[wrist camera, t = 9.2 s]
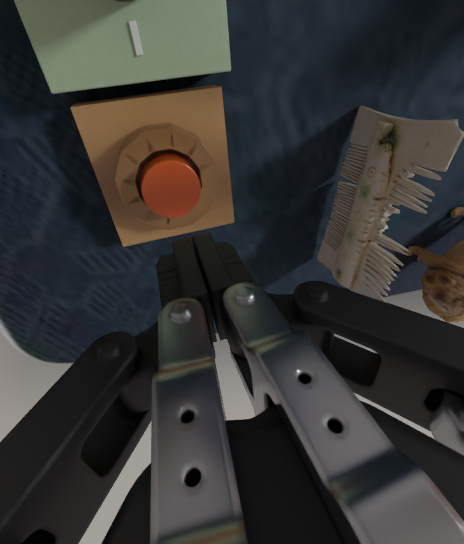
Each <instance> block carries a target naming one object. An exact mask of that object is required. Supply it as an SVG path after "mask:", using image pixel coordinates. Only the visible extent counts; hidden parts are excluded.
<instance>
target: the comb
mask: <svg viewBox="0 0 464 544" xmlns="http://www.w3.org/2000/svg"><path fill="white" fill-rule="evenodd" d="M463 137H464V132H463V131H461V130H460V129H459V127H458V119H454V120H413V119H407V118H400V117H395V116H391V115H387V114H384V113H381V112H378V111H375V110H372V109H370V108H367V107H364V106H360V107H359V110H358V113H357V117H356V121H355V125H354V128H353V131H352V134H351V138H350V142H351V143H353V144H358V145H362V146H357V145H350V146H351V147H355V148H358V149H355V148H348V150H352V151H346V153H349V154H346V156H348V157H344V158H345V159H346V160H344V161H346V162H348V163H345V162H343V164H344V165H346V166H342V167H343V168H345V169H343V168H341V170H343V171H345V172H343V171H341V172H340V174H341V175H342V176H344V177H345V178H347V179H349V180H351V181H353V182H355V183H357V186H356V185H354V184H350V183H347V182H342V181H338V182H339V183H338V185H340V186H342V187H340V186H337V187H338V188H340V189H342V190H339V189H336V190H337V191H338V192H336V193H337V194H339V195H335V196H336V197H334V198H335V199H337V200H335V199H334V201H335V202H337V203H334V204H335V205H336V206H334V205H333V207H334V208H333V210H334V211H331V212H333V213H331V217H330V218H331V219H332V220H333V221H332V220H330V219H329V221H330V222H328V223H329V224H330V225H331V226H330V225H328V226H329V227H326V228H327V229H326V230H327V231H328V232H327V231H325V232H326V233H327V234H326V233H325V235H324V236H325V237H324V238H325V239H326V240H327V241H326V240H324V239H323V241H322V244H321V248H320V251H319V254H318V257H317V259H318V260H319V261H320V262H321V263H322V264H324V265H325V266H326V267H328V268H329V269H330V270H331V271H332V274H333V277H334V278H335V279H336V281H337V282H338V283H340V284H341V285H342V286H344V287H347V288H348V289H350V290H351V291H353V292H356V293H359V294H362V295H365V296H368V297H371V298H374V299H377V300H380V301H383V302H386V301H385V300H384V298H383V297H382V295H381V294H380V293H382V294H384V295H386V296H387V293H386V292H385V291H384V290H383V288H385V289H387V290H388V291H390V288H389V287H388V286H387V285H386V283H387V284H389V285H390V283H391V282H390V280H391V281H395V280H394V279H393V278H392V277H391V275H392V276H395V277H397V275H396V274H395V273H394V272H393V271H392V270H391V269H390V268H392V269H394V270H396V271H398V272H399V271H401V270H400V269H399V268H398V267H397V266H396V265H395V264H394V263H393V262H392V261H394V262H395V263H397V264H399V265H401V266H403V264H402V263H401V262H400V261H399V260H398V259H397V258H396V257H395V256H394V255H393V254H391V253H389V252H388V251H386V250H385V249H383V248H381V247H380V246H378V245H377V244H378V243H379V244H381V245H383V246H385V247H387V248H389V249H392V250H395V251H397V252H400V253H402V254H404V255H407V256H408V254H407V253H405V252H404V251H407V252H409V250H407V249H406V248H405V247H403V246H402V245H400V244H399V243H397V242H396V241H394V240H392V239H390V238H388V237H387V236H385V235H383V234H381V233H382V232H384V230H383V229H388V226H387V225H386V223H385V222H386V221H388V220H390V219H389V218H388V216H390V215H391V214H392V213H399V214H400V211H399V209H396V208H394V207H392V205H391V204H393V205H397V206H400V204H401V205H404V206H406V207H409V208H411V209H414V210H416V211H418V212H421V213H425V214H427V212H426V211H425V210H424V209H422V208H420V207H419V206H417V205H415V204H413V203H416V204H419V205H421V206H424V207H428V206H426V205H425V204H424V203H422V202H421V201H419V200H418V199H416V198H415V197H418V198H421V199H423V200H426V201H429V202H432V200H431V199H429V198H428V197H427V196H425V195H423V194H421V193H420V192H418V191H421V192H423V193H425V194H428V195H431V196H434V195H435V194H434V193H433V192H432V191H430V190H429V189H427V188H425V187H424V186H422V185H420V184H418V183H416V182H414V181H411V180H409V179H407V178H411V177H413V176H414V175H415V174H413V173H411V172H410V171H412V172H414V173H417V174H419V175H422V176H425V177H428V178H432V179H436V180H441V179H442V178H441V177H440V176H439V175H438V174H435V173H433V172H431V171H429V170H426V169H424V168H421V167H418V166H417V165H420V166H423V167H425V168H429V169H433V170H437V171H444V172H446V170H447V168H448V166H449V164H450V162H451V160H452V158H453V156H454V154H455V152H456V150H457V148H458V146H459V145H460V143H461V141H462V139H463ZM364 146H367V147H364ZM361 149H362V150H361ZM365 150H366V151H365ZM354 151H356V152H354ZM358 152H360V153H358ZM362 153H364V154H362ZM351 154H355V155H351ZM366 154H367V155H366ZM351 157H352V158H351ZM347 159H348V160H347ZM349 163H350V164H349ZM416 164H417V165H416ZM347 166H348V167H347ZM350 167H351V168H350ZM405 177H406V178H405ZM404 184H405V185H404ZM406 185H407V186H406ZM408 186H409V187H408ZM410 187H411V188H410ZM412 188H413V189H412ZM414 189H416V190H418V191H416V190H414ZM401 190H402V191H401ZM403 191H404V192H406V193H408V194H411V195H413V196H415V197H413V196H411V195H408V194H406V193H404V192H403ZM340 192H341V193H340ZM398 196H399V197H398ZM338 197H339V198H338ZM400 197H402V198H400ZM403 198H404V199H403ZM405 199H406V200H405ZM407 200H408V201H407ZM409 201H411V202H413V203H411V202H409ZM335 211H336V212H335ZM391 212H392V213H391ZM400 249H402V250H404V251H402V250H400ZM389 259H390V260H389ZM391 260H392V261H391ZM389 267H390V268H389ZM387 272H388V273H387ZM390 274H391V275H390ZM389 279H390V280H389ZM382 287H383V288H382ZM378 291H379V292H378Z"/></svg>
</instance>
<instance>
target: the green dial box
mask: <svg viewBox="0 0 464 544" xmlns="http://www.w3.org/2000/svg"><path fill="white" fill-rule="evenodd" d="M14 2H15V4H16V7H17V9H18V12H19V14H20V17H21V19H22V22H23V24H24V27H25V29H26V31H27V34H28V36H29V39H30V41H31V44H32V46H33V49H34V51H35V54H36V56H37V59H38V61H39V64H40V66H41V69H42V71H43V74H44V76H45V79H46V81H47V84H48V86H49V88H50V91H51V93H52V94H57V93H65V92H72V91H80V90H88V89H96V88H104V87H111V86H119V85H127V84H135V83H143V82H150V81H158V80H166V79H174V78H182V77H189V76H197V75H205V74H213V73H221V72H228V71H231V61H230V48H229V35H228V22H227V9H226V0H135V1H130V2H120V1H115V0H14Z"/></svg>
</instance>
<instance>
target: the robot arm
mask: <svg viewBox="0 0 464 544" xmlns="http://www.w3.org/2000/svg"><path fill="white" fill-rule="evenodd" d="M192 241H193V246H194V251H195V254H194V251H193V248H192V245H191V242H190V239H189V237H187V238H182V239H178V240H173V241H171V243H172V248H173V252H174V253H172V254H168V255H163V256H160V258H159V260H158V262H157V264H156V267H157V274H158V281H159V290H160V298H161V306H162V309H161V311H160V312H159V315H158V321H157V322H156V323H155V324H154V325H153V326H152V327H150V328H149V329H148V330H146V331H144V332H142V333H140V334H139V335H137V336H135V337H133V336H132V335H131V334H129V333H127V332H112V333H109V334H106V335H104V336H102V337H100V338H99V339H97V340H96V341H94V342H93V343H92V344H91V345H90V346H89V347H88V348H87V350H86V351H85V352H84V353H83V354H82V355H81V356H80V357H79V358H78V359H77V360H76V361H75V362H74V364H73V365H72V366H71V367H70V368H69V369H68V370H67V371H66V372H65V373H64V375H62V376H61V378H60V379H59V380H58V381H57V382H56V383H55V384H54V385H53V386H52V387H51V388H50V389H49V390H48V392H47V393H46V394H45V395H44V396H43V397H42V398H41V399H40V400H39V401H38V402H37V403H36V405H34V407H33V408H32V409H31V410H30V411H29V412H28V413H27V414H26V415H25V417H23V418H22V419H21V421H20V422H19V423H18V424H17V425H16V426H15V427H14V428H13V429H12V430H11V431H10V432H9V434H8V435H7V436H6V437H5V438H4V439H3V440H2V441H1V442H0V544H78V543H79V542H80V540H81V538H82V537H83V535H84V533H85V532H86V530H87V528H88V526H89V525H90V523H91V522H92V520H93V518H94V516H95V515H96V513H97V511H98V510H99V508H100V506H101V505H102V503H103V501H104V499H105V498H106V496H107V495H108V493H109V491H110V489H111V488H112V486H113V484H114V483H115V481H116V479H117V477H118V476H119V474H120V472H121V471H122V469H123V467H124V465H125V464H126V462H127V460H128V459H129V457H130V455H131V454H132V452H133V451H134V449H135V447H136V445H137V444H138V442H139V441H140V439H141V437H142V435H143V434H144V432H145V430H146V429H147V427H148V425H149V424H150V422H151V420H152V438H151V440H152V441H151V463H150V464H149V465H148V467H147V468H146V469H145V470H144V471H143V472H142V473H141V475H140V476H139V477H138V478H137V480H136V481H135V483H134V485H133V486H132V488H131V489H130V491H129V493H128V494H127V496H126V498H125V500H124V502H123V504H122V506H121V508H120V509H119V511H118V513H117V515H116V517H115V519H114V521H113V523H112V525H111V527H110V529H109V530H108V532H107V534H106V536H105V538H104V540H103V542H102V544H464V328H462V327H458V326H456V325H453V324H450V323H447V322H443V321H440V320H437V319H434V318H431V317H428V316H425V315H422V314H419V313H416V312H413V311H410V310H407V309H404V308H401V307H398V306H395V305H392V304H389V303H386V302H383V301H380V300H377V299H374V298H371V297H368V296H365V295H362V294H359V293H356V292H353V291H350V290H347V289H344V288H341V287H338V286H335V285H332V284H329V283H326V282H322V281H307V282H304V283H302V284H300V285H298V286H297V287H296V289H295V290H294V294H290V295H275V294H269V293H267V292H266V291H265V290H264V289H263V288H262V287H261V286H259V285H257V284H254V282H253V280H252V279H251V277H250V275H249V273H248V272H247V270H246V268H245V266H244V264H243V263H242V262H241V259H240V257H239V255H238V254H237V252H236V250H235V248H234V247H233V246H232V245H230V244H228V243H227V242H225V241H224V242H220V243H216V244H215V243H214V240H213V238H212V236H211V234H210V232H209V233H204V234H200V235H195V236H192ZM212 316H213V319H214V322H215V325H216V328H217V331H218V334H219V337H220V340H223V339H227V340H228V343H229V345H230V350H231V357H232V359H233V362H234V364H235V366H236V368H237V371H238V373H239V375H240V378H241V380H242V382H243V384H244V387H245V389H246V391H247V394H248V396H249V398H250V400H251V403H252V406H253V408H254V412H255V417H253V418H251V419H244V420H228V421H226V416H225V411H224V406H223V400H222V395H221V391H220V385H219V380H218V375H217V370H216V364H215V350H214V346H213V342H216V341H217V340H216V334H215V329H214V324H213V319H212ZM334 334H337V335H339V336H342V337H344V338H347V339H349V340H351V341H354V342H356V343H359V344H361V345H363V346H366V347H368V348H371V349H373V350H374V351H376V352H377V353H378V354H377V353H373V352H371V351H368V350H366V349H364V348H361V347H359V346H356V345H354V344H351V343H349V342H347V341H345V340H342V339H340V338H337V337H335V336H334ZM353 392H354V393H356V394H358V395H360V396H362V397H364V398H366V399H368V400H370V401H372V402H374V403H376V404H378V405H380V406H382V407H384V408H386V409H388V410H390V411H392V412H394V413H396V414H398V415H400V416H402V417H404V418H406V419H408V420H410V421H412V422H414V423H416V424H417V425H420V426H421V427H423V428H425V429H428V430H429V431H431V432H432V434H433V436H434V438H435V439H433V438H431V437H429V436H427V435H425V434H423V433H422V432H420V431H418V430H416V429H414V428H412V427H411V426H409V425H407V424H405V423H403V422H401V421H399V420H398V419H396V418H394V417H392V416H390V415H388V414H387V413H385V412H383V411H381V410H379V409H377V408H375V407H374V406H371V405H369V404H367V403H365V402H362V401H360V400H359V399H358V398H357V397H356V395H355V394H354V393H353Z"/></svg>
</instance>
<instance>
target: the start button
mask: <svg viewBox="0 0 464 544" xmlns="http://www.w3.org/2000/svg"><path fill="white" fill-rule="evenodd" d="M141 191H142V196H143V199H144V201H145V203H146V205H147V206H148V207H149V208H150V209H151V210H152V211H153V212H155V213H156V214H158V215H160V216H163V217H168V218H176V217H180V216H183V215H186V214H187V213H189V212H190V211H191V210H192V209H193V208H194V207H195V206H196V205H197V203H198V201H199V198H200V194H201V185H200V181H199V178H198V176H197V174H196V173H195V171H194V169H193V167H192V166H191V165H190V163H189V162H188V161H187V160H185V159H184V158H182V157H181V156H179V155H176V154H171V153H165V154H159V155H157V156H155V157H153V158H151V159H150V160H149V161H148V162H147V163H146V164H145V166H144V168H143V170H142V173H141Z"/></svg>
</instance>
